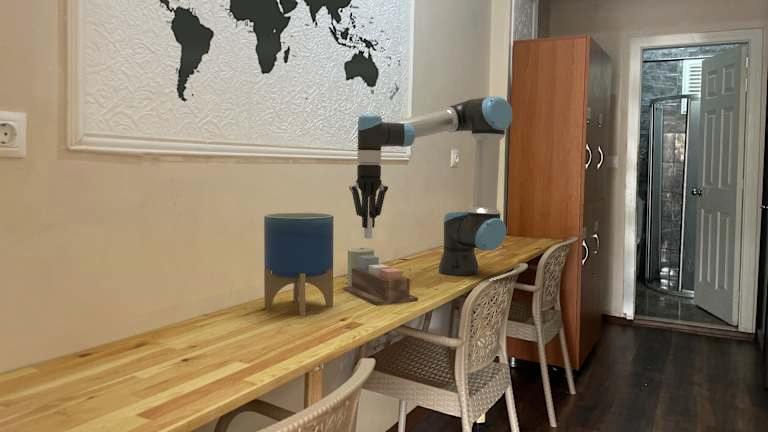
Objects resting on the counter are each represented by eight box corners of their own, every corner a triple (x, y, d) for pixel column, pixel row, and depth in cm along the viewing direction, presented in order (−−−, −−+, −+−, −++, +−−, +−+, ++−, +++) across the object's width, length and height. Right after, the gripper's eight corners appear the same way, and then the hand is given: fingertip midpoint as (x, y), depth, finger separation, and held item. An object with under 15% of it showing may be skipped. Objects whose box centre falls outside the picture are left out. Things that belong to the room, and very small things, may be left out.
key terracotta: (394, 289, 188) (395, 268, 187) (402, 292, 183) (402, 270, 183) (380, 290, 185) (380, 269, 185) (387, 293, 181) (388, 272, 180)
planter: (327, 298, 186) (328, 212, 184) (338, 314, 167) (338, 217, 165) (262, 301, 181) (262, 212, 179) (266, 317, 163) (265, 218, 160)
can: (375, 280, 215) (375, 246, 214) (372, 286, 206) (372, 250, 205) (349, 280, 216) (349, 246, 215) (345, 285, 206) (345, 249, 205)
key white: (382, 284, 195) (382, 264, 194) (390, 287, 190) (390, 266, 190) (368, 285, 192) (368, 265, 192) (375, 288, 188) (375, 267, 187)
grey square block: (371, 274, 202) (371, 255, 201) (378, 277, 197) (378, 257, 197) (357, 275, 199) (357, 256, 199) (364, 278, 195) (364, 258, 194)
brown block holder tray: (381, 286, 205) (381, 265, 205) (418, 301, 184) (418, 277, 183) (343, 289, 199) (343, 268, 198) (376, 305, 178) (376, 281, 177)
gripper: (382, 164, 201) (380, 235, 203) (345, 163, 195) (344, 237, 197) (392, 164, 195) (391, 238, 197) (355, 163, 189) (354, 240, 191)
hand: (368, 237), depth 197 cm, fingers closed
